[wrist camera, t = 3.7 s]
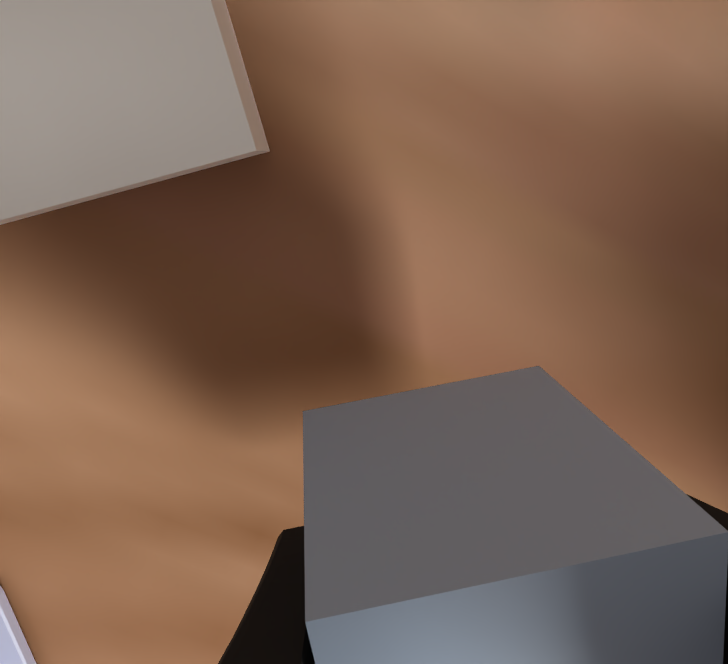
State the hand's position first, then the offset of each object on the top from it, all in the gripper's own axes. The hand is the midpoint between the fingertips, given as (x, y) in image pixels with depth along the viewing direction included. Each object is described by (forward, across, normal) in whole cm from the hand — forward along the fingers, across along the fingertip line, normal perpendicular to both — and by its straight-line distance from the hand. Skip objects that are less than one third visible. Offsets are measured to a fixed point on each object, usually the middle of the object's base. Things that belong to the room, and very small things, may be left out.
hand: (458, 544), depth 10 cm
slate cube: (+2, 0, 0) cm, 2 cm away
